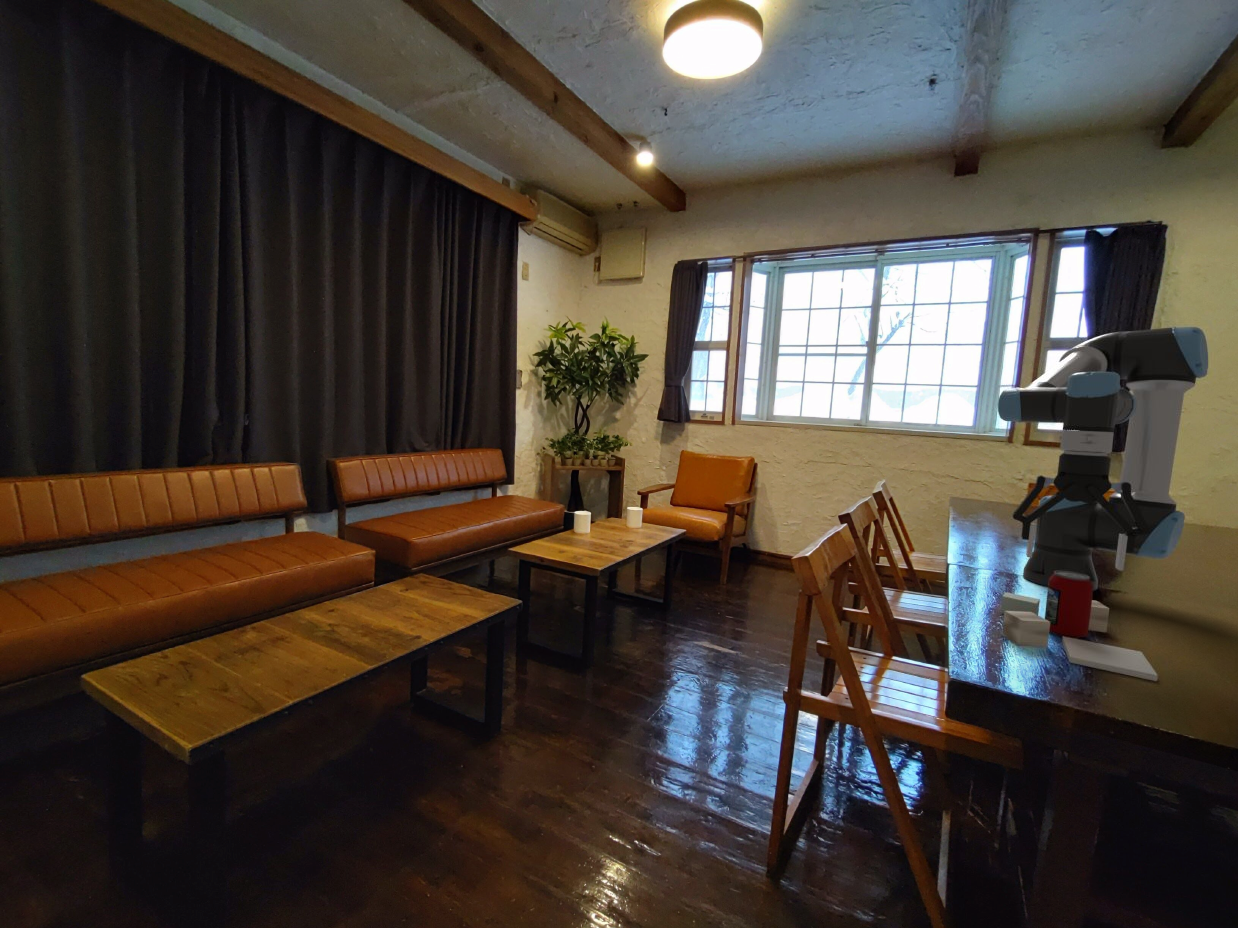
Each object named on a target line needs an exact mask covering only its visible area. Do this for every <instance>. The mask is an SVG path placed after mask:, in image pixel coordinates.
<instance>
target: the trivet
mask: <svg viewBox="0 0 1238 928" xmlns="http://www.w3.org/2000/svg"><path fill="white" fill-rule="evenodd" d="M1061 638H1062V639H1061V643H1062V646H1063V649H1064V651H1065V653H1066V657H1067V659H1068V661H1069V663H1071V664H1076V665H1081V666H1084V667H1090V668H1095V669H1097V670H1103V671H1108V672H1112V673H1117V674H1123V675H1126V676H1131V677H1135V678H1140V679H1144V680H1150V681H1152V682H1153V681H1154V682H1157V681H1158V676H1159V675H1158V674H1157V672H1156V670H1154V668H1153V667H1152V665H1151V663H1150V662H1149V661H1148V659H1147V658H1146V656H1145V655H1144V654H1143V652H1142V651H1141V650H1140V651H1139V650H1133V649H1129V648H1124V647H1119V646H1115V645H1110V644H1104V643H1098V642H1094V641H1088V640H1085V639H1080V638H1077V639H1075V638H1069V637H1064V636H1061Z"/></svg>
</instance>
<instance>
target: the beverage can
mask: <svg viewBox="0 0 1238 928" xmlns="http://www.w3.org/2000/svg"><path fill="white" fill-rule="evenodd" d="M1046 591H1047V592H1046V599H1045V601H1046V602H1045V609H1044V610H1045V612H1044V619H1046V620H1048V621H1050V629H1049V633H1050V632H1051V633H1052V634H1054V635H1056V636H1060V637H1062V636H1064V637H1069V638H1074V639H1080V638H1084V637H1086V636H1088V634H1089V630H1088V629H1089V621H1090V613H1091V604H1092V600H1093V593H1094V591H1093V585H1092V583H1091V581H1090V577H1089V576H1087V575H1084V574H1081V573H1077V572H1071V571H1062V570H1057V571H1054V574H1053V575H1052V576H1051V577H1050V578H1049V583H1048V586H1047V590H1046Z"/></svg>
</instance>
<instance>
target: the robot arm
mask: <svg viewBox="0 0 1238 928" xmlns="http://www.w3.org/2000/svg"><path fill="white" fill-rule="evenodd" d="M1208 351H1209V350H1208V343H1207V338H1206V335H1205V333H1204V331H1203V329H1201V328H1199V327H1197V326H1183V327H1182V326H1180V327H1177V326H1172V327H1162V328H1161V327H1160V328H1152V329H1143V330H1142V329H1141V330H1140V329H1139V330H1133V331H1132V330H1130V331H1115V332H1109V333H1106V334H1101V335H1099V336H1095V337H1093V338H1090V339H1088V340H1085V341H1084V342H1081V343H1078V344H1077V345H1075V346H1073V347H1072V348H1070V349H1068V350H1067V351H1065V353H1064V354H1063V355H1062V356H1061V357H1060V359H1059V362H1058V363H1057V364H1055V365H1054V366H1053V367H1051V368H1050V369H1049V370H1048V371H1046V372H1045V373H1043V374H1041V375H1040V376H1039V377H1038V378H1036V379H1035V380H1034V381H1032V382H1030V383H1029V384H1028V385H1027V386H1025V387H1015V388H1014V387H1013V388H1011V387H1010V388H1006V389H1004V390H1003V391H1002V392H1001V394H1000V395H999V397H998V401H997V412H998V415H999V417H1000V419H1001V420H1002V421H1005V422H1013V423H1014V422H1015V423H1019V424H1020V423H1046V424H1047V423H1051V424H1052V423H1053V424H1057V423H1058V424H1062V431H1061V436H1060V437H1061V438H1060V445H1059V446H1060V448H1059V449H1060V451H1063V453H1061V454H1060V455H1059V457H1058V463H1057V464H1058V466H1057V474H1056V475H1055V477H1047V476H1043V475H1038V476H1037V477H1036V480H1035V483H1034V486H1033V487H1032V488H1031V490H1030V491H1029V492H1028V494H1026V496H1025V498H1024V499H1023V500H1022V501H1021V503H1020V504H1019V505H1018V507H1017V508H1016V509H1015V510H1014V512H1013V513H1012V519H1014V520H1015V521H1019V522H1020V523H1022V527H1021V534H1020V536H1021V539H1022V540H1024V541H1027V545H1026V551H1025V552H1026V558H1028V559H1027V562H1026V563H1025V565H1024V568H1023V573H1022V577H1023V579H1026V580H1027V581H1029V582H1032V583H1035V584H1038V585H1041V586H1046V587H1048V583H1049V578H1050V577H1051V576H1052V575H1053V574H1054V571H1057V570H1062V571H1071V572H1077V573H1081V574H1084V575H1087V576H1089V577H1090V581H1091V583H1092V585H1093V592H1094V591H1096V590H1098V584H1099V580H1098V576H1097V574H1096V570H1095V566H1094V563H1093V559H1092V555H1093V549H1096V550H1101V551H1107V552H1114V553H1116V557H1115V563H1114V564H1115V565H1114V567H1115V569H1116V570H1117V571H1122V572H1123V571H1124V570H1125V561H1126V555H1128V556H1129V555H1130V556H1135V557H1138V558H1149V559H1157V560H1162V559H1166V558H1168V557H1170V556H1171V554H1172V553H1173V552H1174V550H1175V549H1176V547H1177V545H1178V544H1179V541H1180V538H1181V536H1182V532H1183V530H1184V525H1185V519H1186V518H1185V517H1186V516H1185V513H1184V512H1182V511H1180V510H1177V502H1176V501H1175V500H1174V499H1173V498H1171V496H1170V487H1171V483H1172V482H1171V481H1172V475H1173V469H1174V468H1173V467H1174V462H1175V455H1176V449H1177V441H1178V435H1179V428H1180V423H1181V415H1182V411H1183V405H1184V397H1185V393H1187V392H1188V391H1189V390H1191V389H1193V388H1195V386H1196V381H1197V378H1198V379H1201V378H1204V377H1206V376H1207V374H1208V370H1209V352H1208ZM1121 380H1126V384H1125V386H1126V387H1127V388H1128V389H1129V390H1130V391H1132V393H1133V394H1132V393H1131V392H1129V391H1128V390H1127V389H1125V388H1124V387H1122V386H1121V384H1120V383H1121V382H1120V381H1121ZM1128 420H1129V421H1128ZM1127 421H1128V428H1127V432H1126V433H1127V434H1126V441H1125V446H1124V454H1123V460H1122V467H1121V472H1120V473H1121V474H1120V481H1119V482H1110V468H1111V461H1112V459H1111V458H1110V456H1108V454H1111V453H1112V452H1113V444H1114V443H1113V440H1114V432H1115V425H1119V424H1122V423H1125V422H1127ZM1052 484H1053V486H1054V487H1055V488H1056V489H1057V490H1058V491H1057V492H1055V493H1054V494H1053V495H1046V496H1043V497H1041V498H1040V499H1039V503H1038V507H1036V508H1035V509H1033V510H1031V511H1030V512H1029V513H1028V514H1027V515H1024V514H1025V512H1026V511H1028V509H1029V508H1030V506H1032V504H1033V503H1034V501H1035V500H1036V498H1038V496H1039V495H1040V494H1041V492H1042V491H1043V489H1044V488H1048V487H1049V486H1050V485H1052ZM1111 489H1113V490H1114V493H1111V494H1110V495H1109V497H1108V499H1107V498H1105V496H1104V495H1105V494H1106V493H1107V492H1108V491H1110V490H1111ZM1035 520H1036V524H1035V523H1033V522H1035Z"/></svg>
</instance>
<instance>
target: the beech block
mask: <svg viewBox="0 0 1238 928" xmlns="http://www.w3.org/2000/svg"><path fill="white" fill-rule="evenodd" d="M1109 612H1110V608H1109V607H1107V606H1106V605H1104V604H1103V603H1102V602H1100V601H1097V600H1093V599H1092V604H1091V613H1090V621H1089V629H1088V631H1092V632H1100V633H1101V632H1102V633H1107V632H1108V622H1109V615H1110V613H1109Z"/></svg>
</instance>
